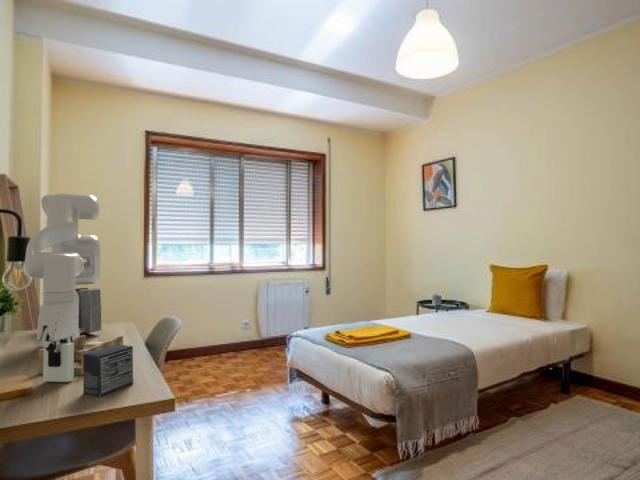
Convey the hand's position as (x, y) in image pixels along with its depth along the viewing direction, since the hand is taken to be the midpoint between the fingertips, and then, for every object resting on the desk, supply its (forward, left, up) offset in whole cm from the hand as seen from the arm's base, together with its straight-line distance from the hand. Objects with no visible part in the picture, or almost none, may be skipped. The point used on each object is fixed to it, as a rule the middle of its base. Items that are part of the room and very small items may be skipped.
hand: (58, 364), depth 112 cm
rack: (-16, -4, -5) cm, 17 cm away
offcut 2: (-22, -3, -2) cm, 22 cm away
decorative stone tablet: (-61, -38, -5) cm, 72 cm away
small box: (+4, +17, -5) cm, 18 cm away
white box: (0, 0, -4) cm, 4 cm away
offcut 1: (-23, -7, -5) cm, 24 cm away
